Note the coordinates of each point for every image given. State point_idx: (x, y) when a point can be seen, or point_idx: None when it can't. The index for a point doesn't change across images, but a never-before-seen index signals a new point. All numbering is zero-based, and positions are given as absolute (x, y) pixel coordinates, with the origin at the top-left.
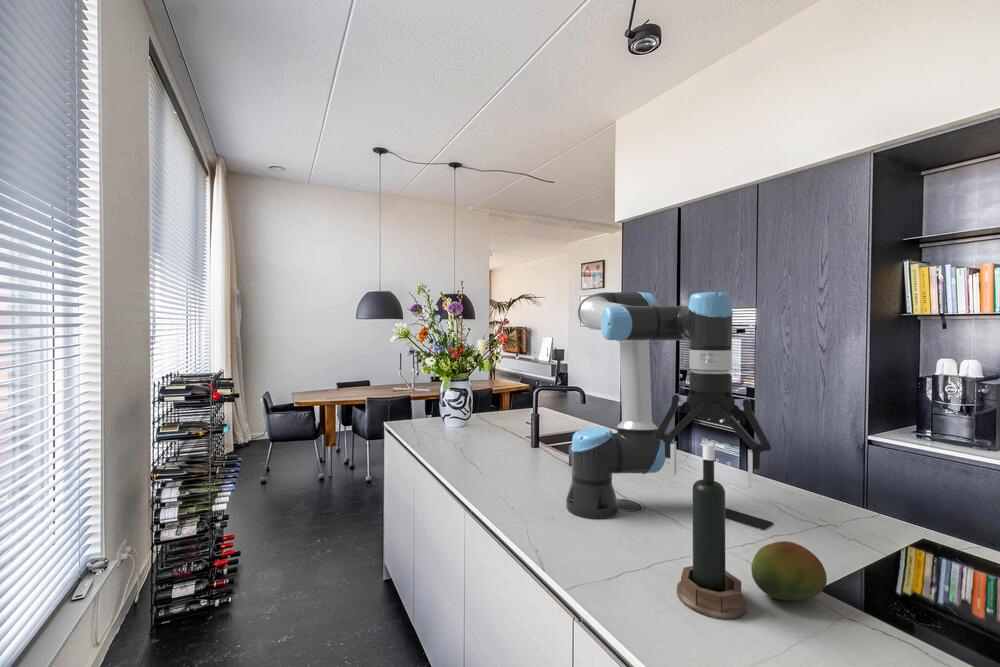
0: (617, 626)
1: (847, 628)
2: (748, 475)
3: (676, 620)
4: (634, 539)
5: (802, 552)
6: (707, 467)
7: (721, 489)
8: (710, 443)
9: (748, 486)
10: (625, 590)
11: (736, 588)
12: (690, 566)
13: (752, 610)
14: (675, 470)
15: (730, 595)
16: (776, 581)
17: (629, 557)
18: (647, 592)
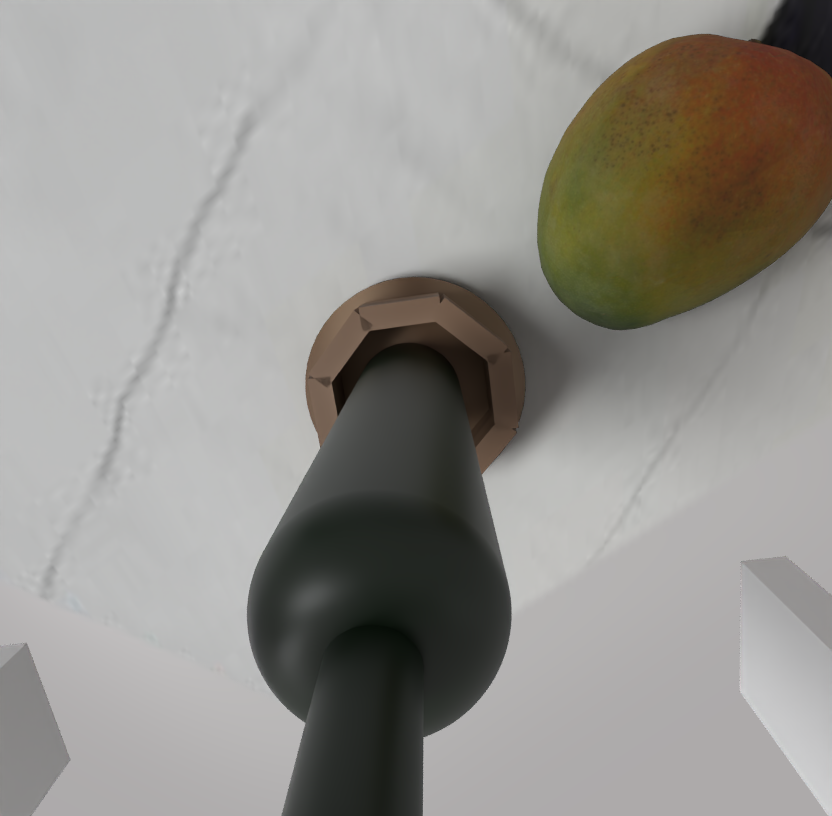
0: (244, 658)
1: (800, 296)
2: (829, 811)
3: None
4: (8, 94)
5: (798, 181)
6: None
7: (494, 677)
8: None
9: (751, 697)
10: (181, 500)
11: (501, 410)
12: (325, 352)
13: (537, 372)
14: (15, 724)
15: (489, 463)
16: (638, 327)
17: (80, 281)
18: (239, 470)
